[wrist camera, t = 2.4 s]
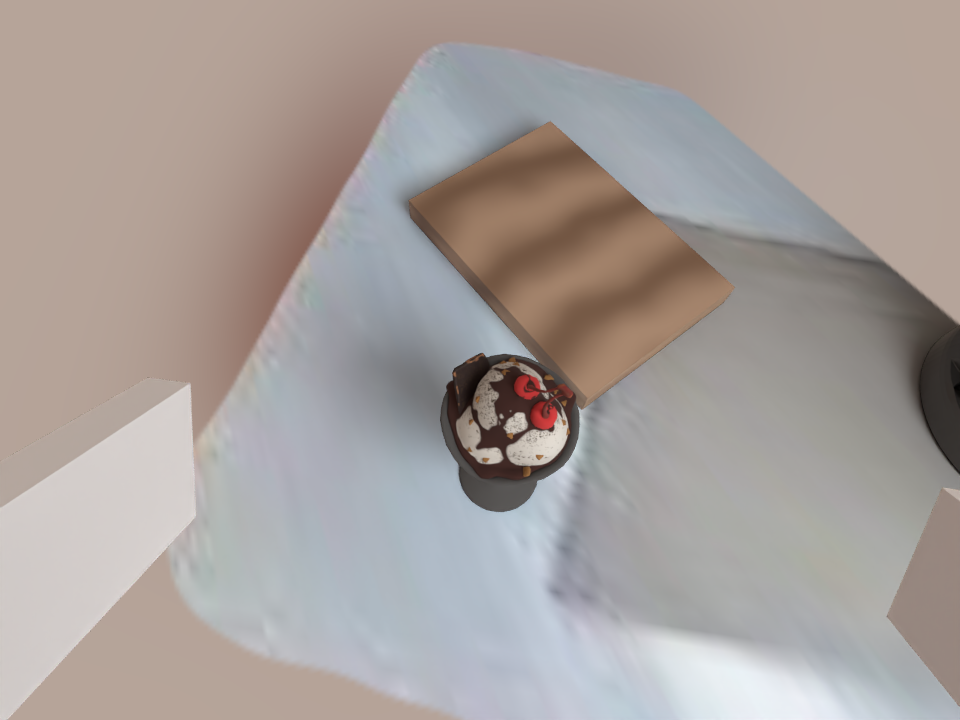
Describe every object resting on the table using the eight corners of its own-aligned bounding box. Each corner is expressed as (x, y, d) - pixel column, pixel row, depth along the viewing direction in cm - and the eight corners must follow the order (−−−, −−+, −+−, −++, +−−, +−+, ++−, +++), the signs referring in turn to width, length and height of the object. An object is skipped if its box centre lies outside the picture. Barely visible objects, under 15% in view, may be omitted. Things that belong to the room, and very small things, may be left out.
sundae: (566, 510, 36) (627, 430, 23) (460, 538, 35) (458, 472, 22) (535, 412, 39) (573, 289, 25) (436, 436, 38) (420, 321, 24)
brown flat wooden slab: (723, 302, 43) (735, 287, 41) (581, 410, 39) (587, 398, 37) (547, 140, 50) (550, 121, 48) (410, 217, 46) (408, 200, 44)
